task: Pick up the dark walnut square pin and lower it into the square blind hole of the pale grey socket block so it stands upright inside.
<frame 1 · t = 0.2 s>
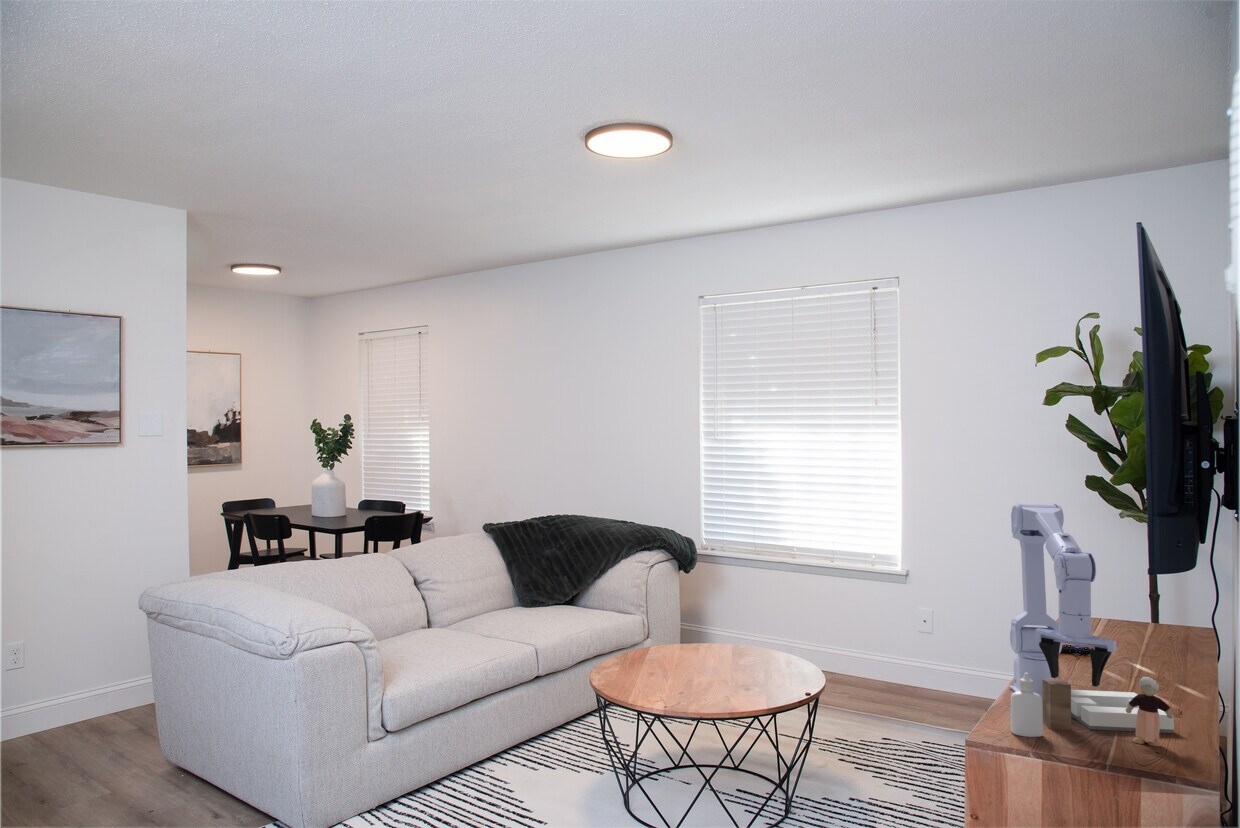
hand: (1074, 681, 169), 10 cm above the tv stand, tool pointing down, fingers open, 7 cm apart
walnut pin: (1056, 726, 172), on the tv stand
eye dropper bottle: (1026, 735, 167), on the tv stand
grandmother figurine: (1149, 744, 162), on the tv stand
socket block: (1112, 718, 177), on the tv stand
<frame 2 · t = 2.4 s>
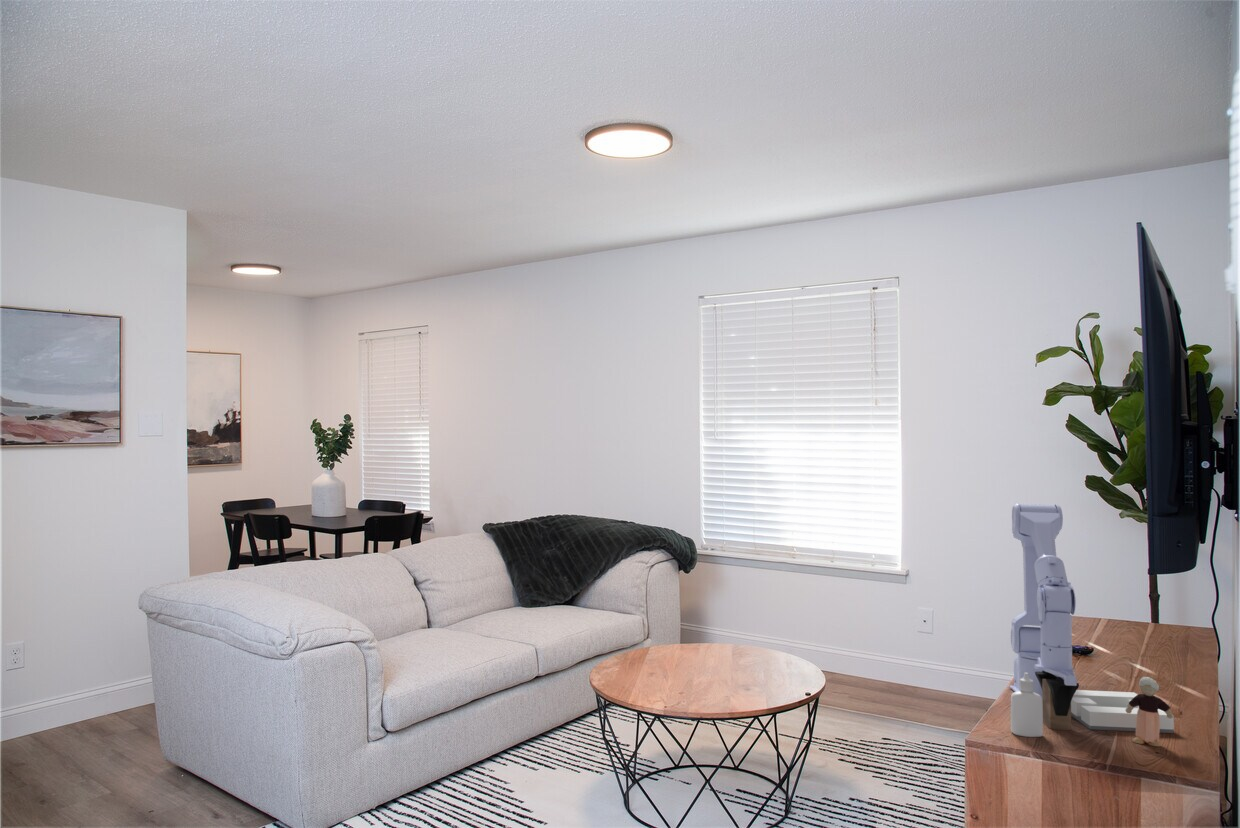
hand: (1056, 711, 172), 3 cm above the tv stand, tool pointing down, fingers closed on walnut pin, 4 cm apart
walnut pin: (1056, 726, 172), on the tv stand, touching gripper
everything else where it was.
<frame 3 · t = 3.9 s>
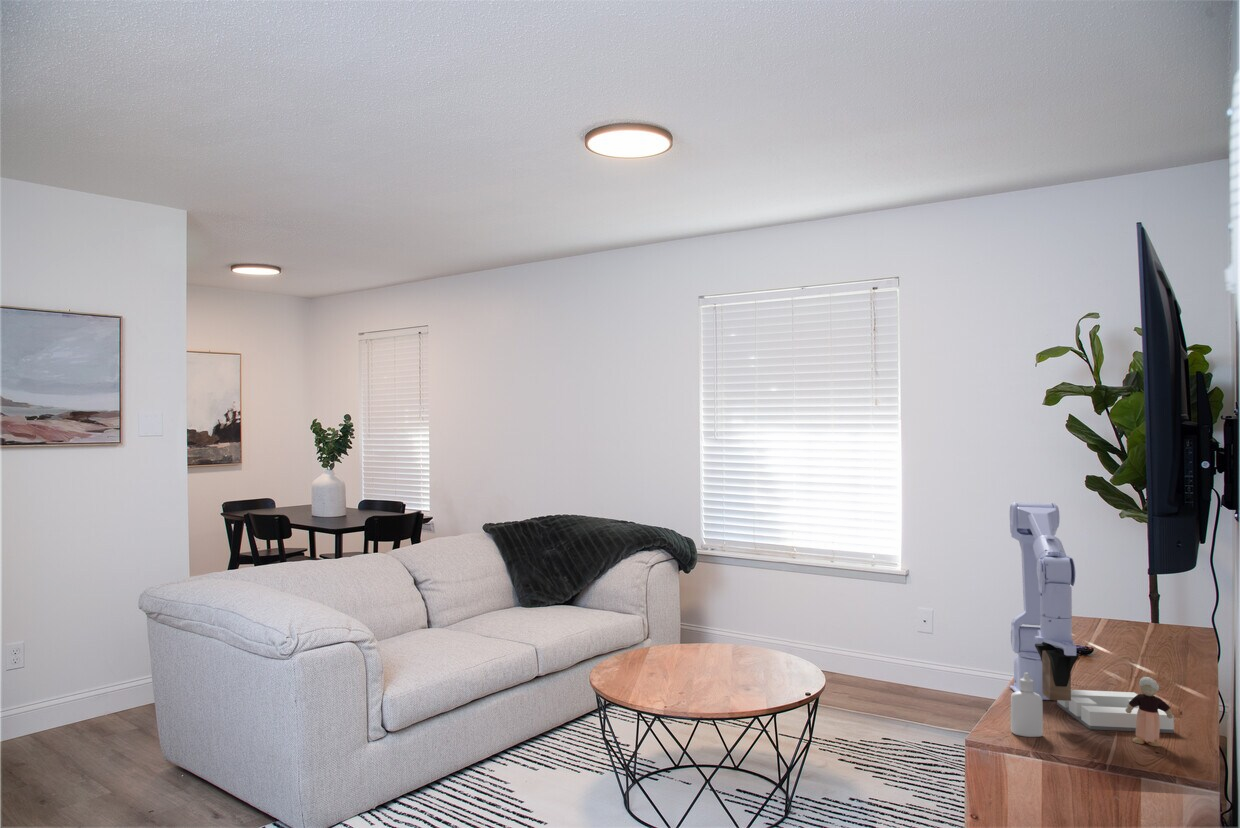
hand: (1056, 682, 172), 9 cm above the tv stand, tool pointing down, fingers closed on walnut pin, 4 cm apart
walnut pin: (1056, 697, 172), point 6 cm above the tv stand, touching gripper
everything else where it was.
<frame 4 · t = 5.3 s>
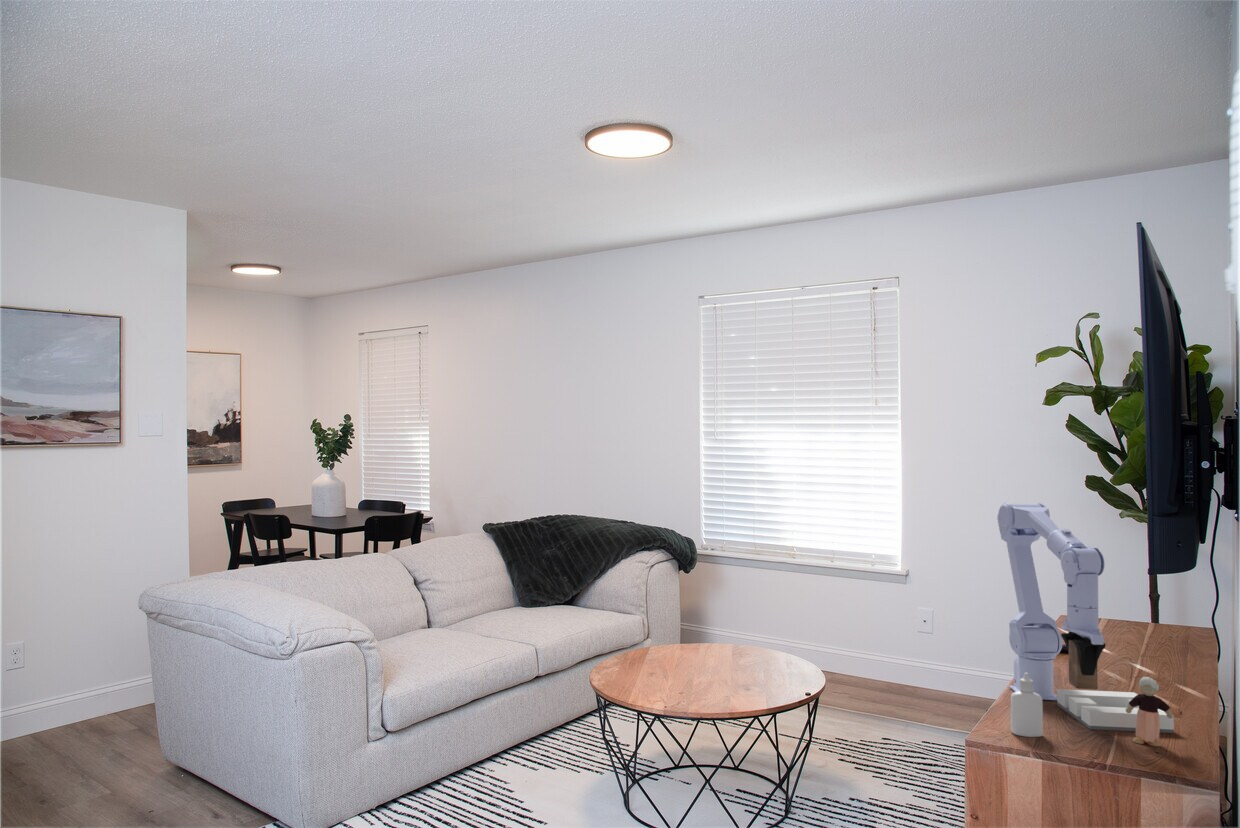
hand: (1082, 671, 175), 10 cm above the tv stand, tool pointing down, fingers closed on walnut pin, 4 cm apart
walnut pin: (1083, 686, 175), point 7 cm above the tv stand, touching gripper
everything else where it was.
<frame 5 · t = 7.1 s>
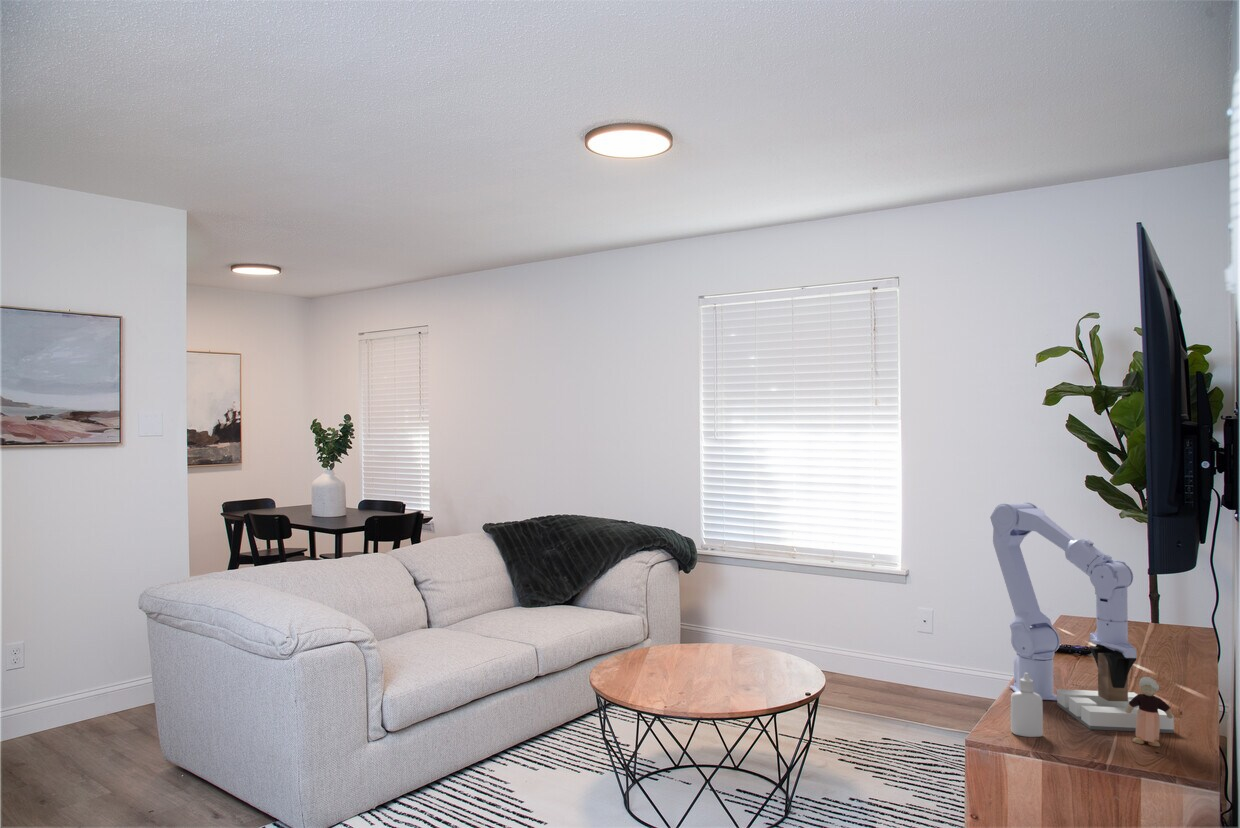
hand: (1112, 684, 178), 7 cm above the tv stand, tool pointing down, fingers closed on walnut pin, 4 cm apart
walnut pin: (1112, 698, 178), point 4 cm above the tv stand, touching gripper
everything else where it was.
when the fingers open (5 cm above the tv stand, at t = 8.5 s): walnut pin stays where it is, resting on socket block.
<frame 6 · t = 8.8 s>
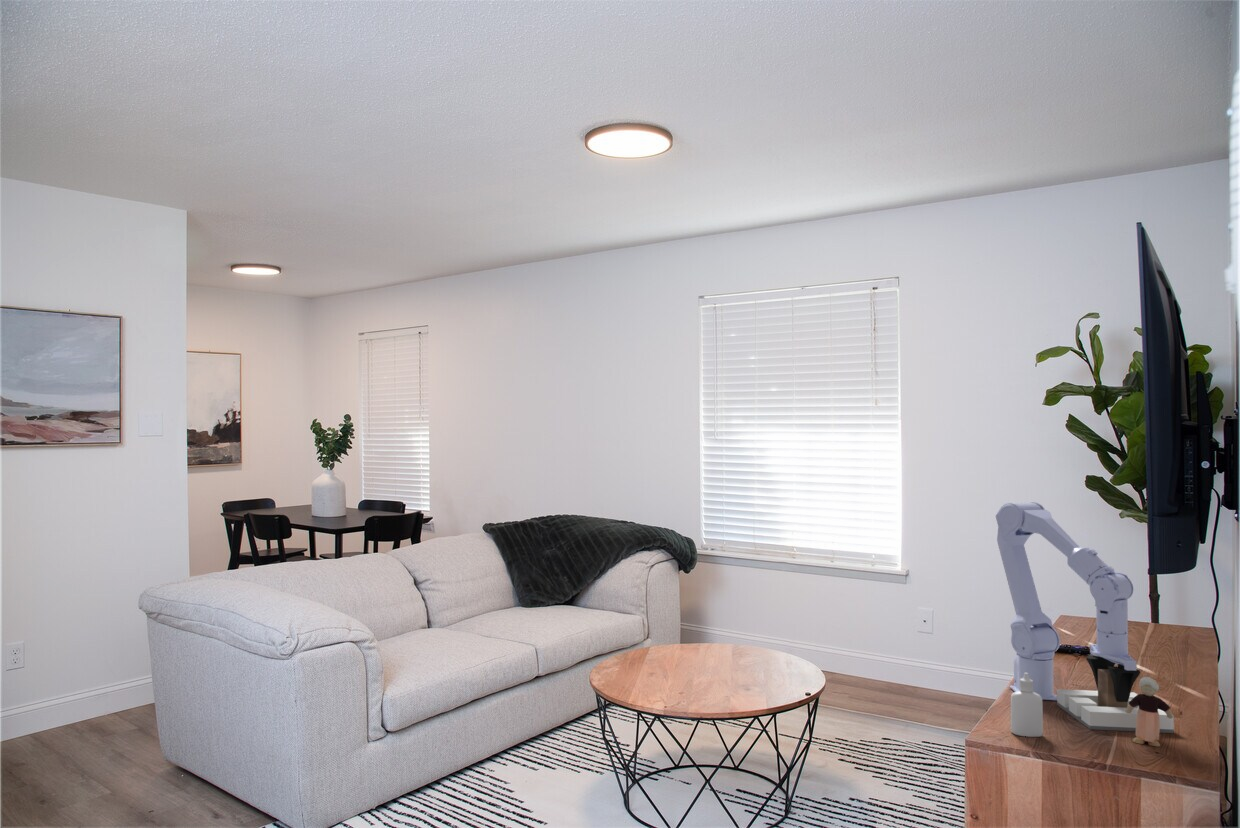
hand: (1112, 696, 178), 5 cm above the tv stand, tool pointing down, fingers open, 7 cm apart
walnut pin: (1112, 715, 177), point 1 cm above the tv stand, touching socket block
everything else where it was.
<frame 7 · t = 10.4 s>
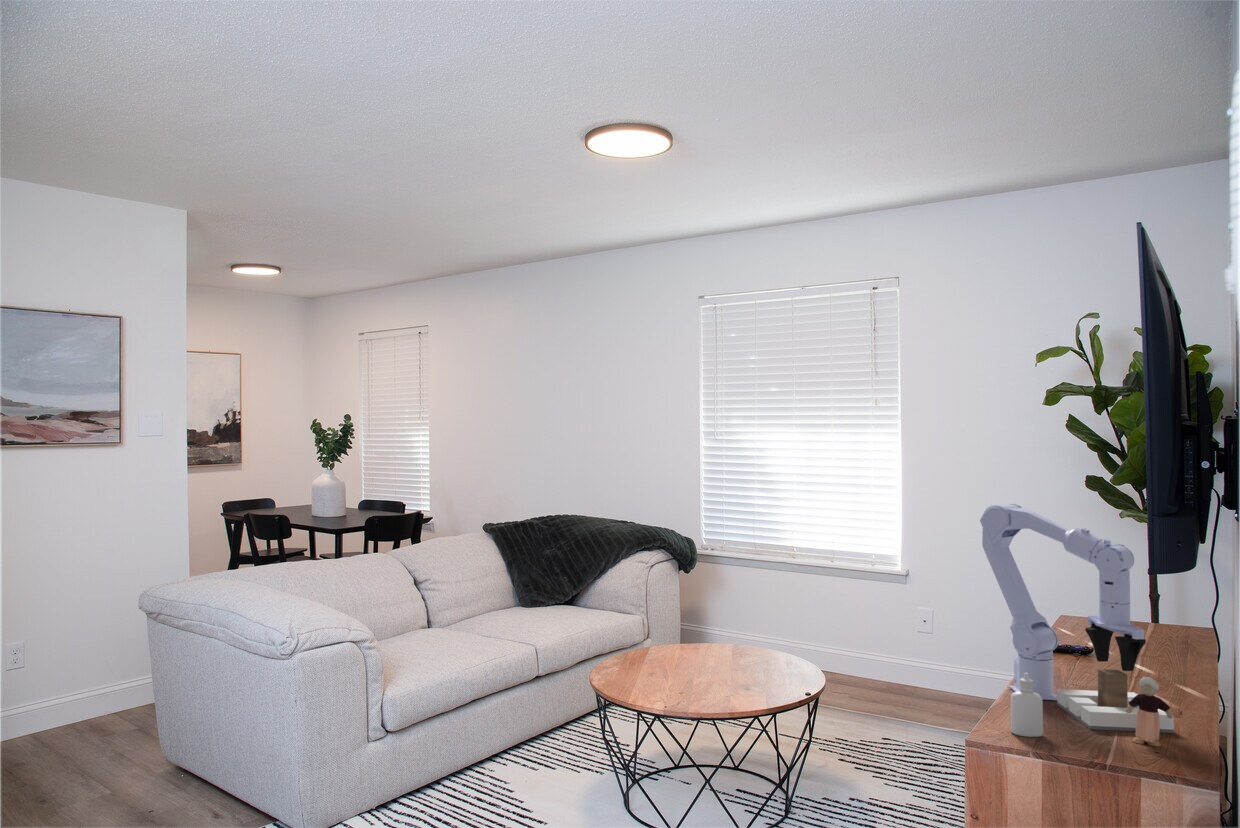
hand: (1114, 665, 180), 10 cm above the tv stand, tool pointing down, fingers open, 7 cm apart
nothing on the tv stand moved.
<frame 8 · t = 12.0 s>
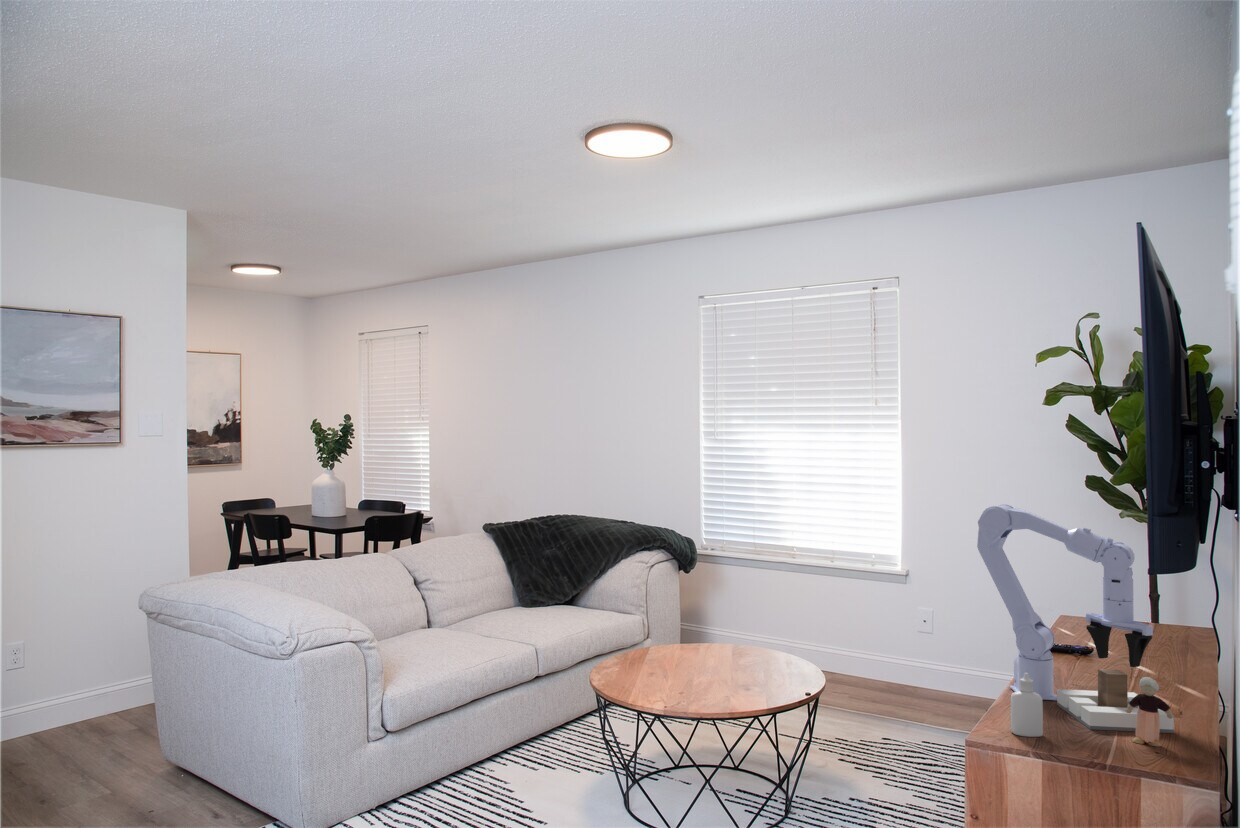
hand: (1118, 662, 183), 10 cm above the tv stand, tool pointing down, fingers open, 7 cm apart
nothing on the tv stand moved.
at the end: walnut pin 0.0 cm off-centre on the socket block, point 0.7 cm above the socket block's base; walnut pin tilted 0°; the gripper is holding nothing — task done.
